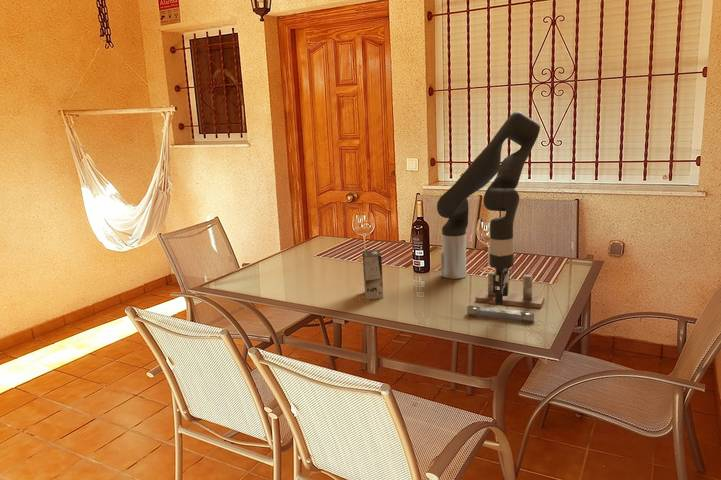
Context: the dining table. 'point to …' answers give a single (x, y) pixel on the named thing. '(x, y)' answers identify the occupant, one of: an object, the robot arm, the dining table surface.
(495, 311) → the grey knobbed bar
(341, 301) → the dining table surface
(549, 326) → the dining table surface
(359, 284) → the dining table surface
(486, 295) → the peg stand
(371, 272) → the coffee box
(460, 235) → the robot arm
